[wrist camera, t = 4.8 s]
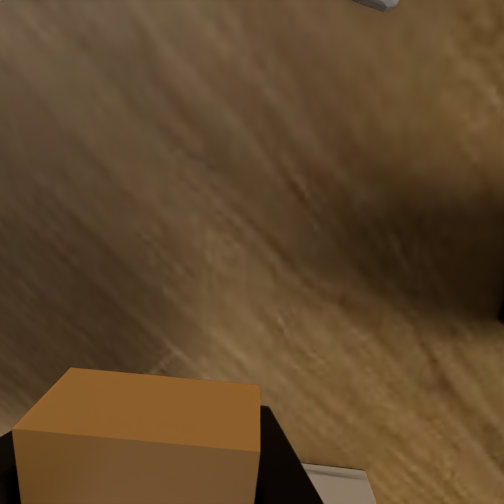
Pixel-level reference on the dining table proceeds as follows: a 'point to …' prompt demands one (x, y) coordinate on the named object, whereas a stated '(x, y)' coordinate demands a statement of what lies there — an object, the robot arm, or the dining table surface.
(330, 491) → the tub
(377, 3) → the key chain
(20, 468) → the lid
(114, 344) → the dining table surface
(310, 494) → the robot arm
